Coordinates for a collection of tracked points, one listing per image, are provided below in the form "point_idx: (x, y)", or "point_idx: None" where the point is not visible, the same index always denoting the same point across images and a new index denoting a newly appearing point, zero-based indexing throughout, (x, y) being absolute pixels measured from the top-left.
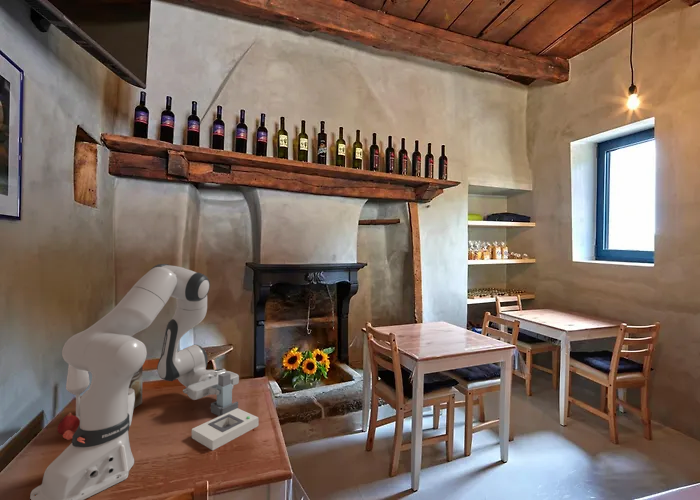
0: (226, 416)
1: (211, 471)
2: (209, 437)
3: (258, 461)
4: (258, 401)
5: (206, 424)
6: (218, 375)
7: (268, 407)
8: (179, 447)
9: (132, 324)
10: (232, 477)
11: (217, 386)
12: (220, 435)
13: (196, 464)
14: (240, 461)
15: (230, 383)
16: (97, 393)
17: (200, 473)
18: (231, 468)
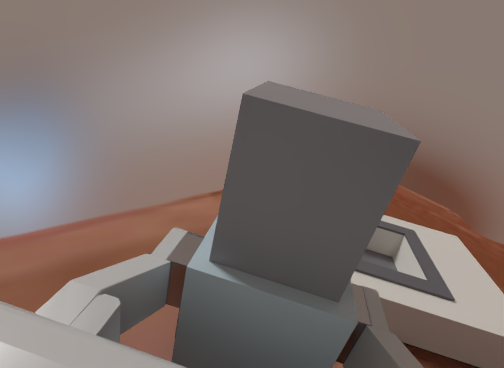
0: None
1: (460, 231)
2: (464, 251)
3: None
4: (45, 266)
5: (461, 308)
6: (411, 153)
7: (130, 213)
8: None
9: None
10: (426, 201)
11: (349, 316)
12: (426, 231)
13: (495, 265)
14: (395, 203)
15: (138, 258)
16: None
17: (486, 244)
18: (419, 208)
